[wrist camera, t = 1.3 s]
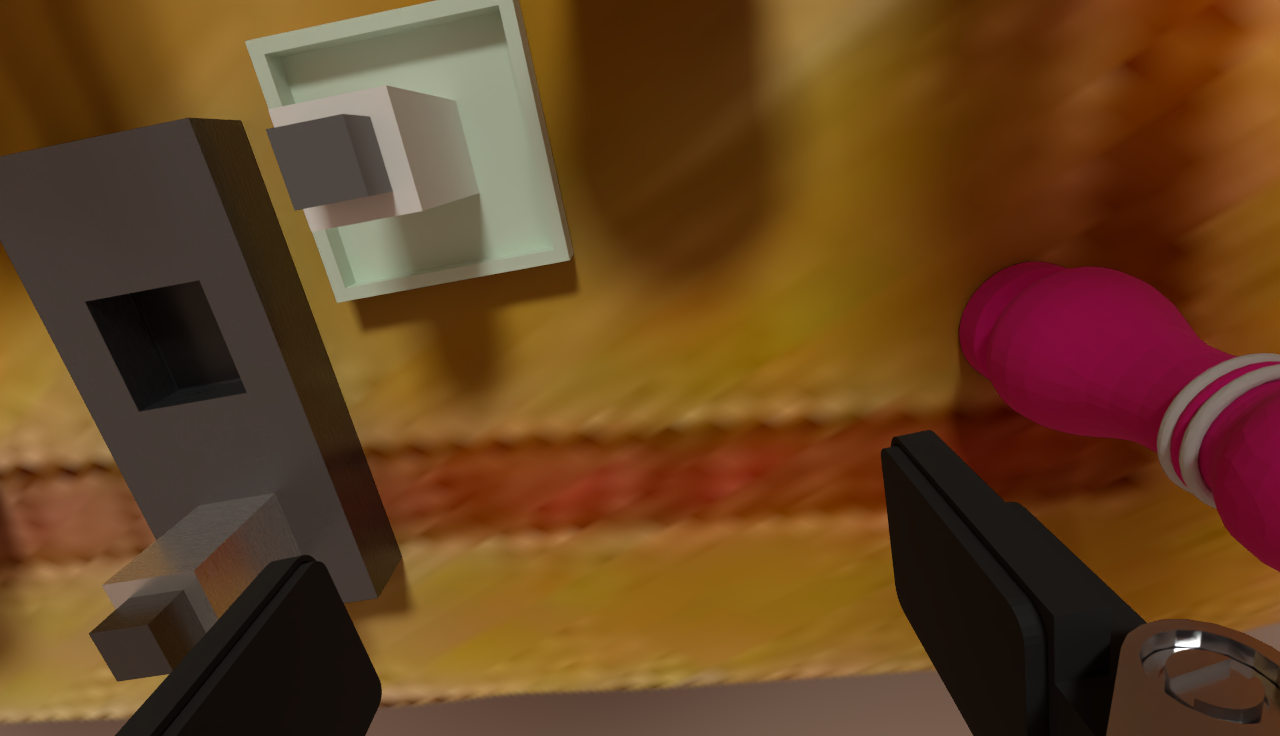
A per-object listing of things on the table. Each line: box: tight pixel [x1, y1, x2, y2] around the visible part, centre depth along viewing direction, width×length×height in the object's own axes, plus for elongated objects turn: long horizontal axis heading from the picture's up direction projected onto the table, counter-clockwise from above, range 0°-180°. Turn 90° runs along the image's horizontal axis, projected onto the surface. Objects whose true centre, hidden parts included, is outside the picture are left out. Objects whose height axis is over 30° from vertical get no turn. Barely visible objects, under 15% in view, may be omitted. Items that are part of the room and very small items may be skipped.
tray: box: [245, 0, 574, 303], centre depth 28 cm, size 11×11×2 cm
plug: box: [266, 85, 479, 232], centre depth 24 cm, size 4×4×10 cm
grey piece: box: [0, 118, 402, 681], centre depth 27 cm, size 24×10×12 cm, turn 10°
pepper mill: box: [959, 262, 1280, 572], centre depth 22 cm, size 7×7×20 cm
